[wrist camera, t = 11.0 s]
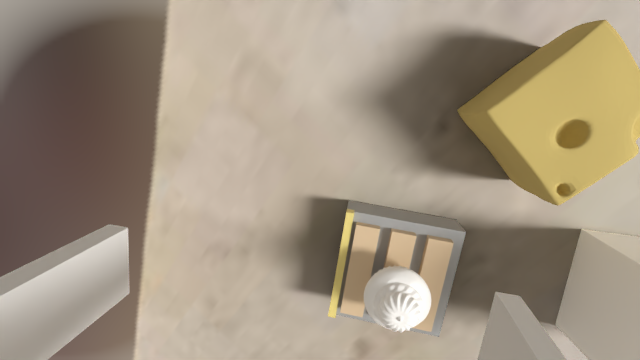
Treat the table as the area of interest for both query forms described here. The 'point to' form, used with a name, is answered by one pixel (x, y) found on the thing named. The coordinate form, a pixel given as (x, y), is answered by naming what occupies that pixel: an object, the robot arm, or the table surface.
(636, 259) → the milk
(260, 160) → the table surface
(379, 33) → the table surface
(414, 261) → the dock
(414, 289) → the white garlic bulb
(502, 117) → the cheese
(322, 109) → the table surface
